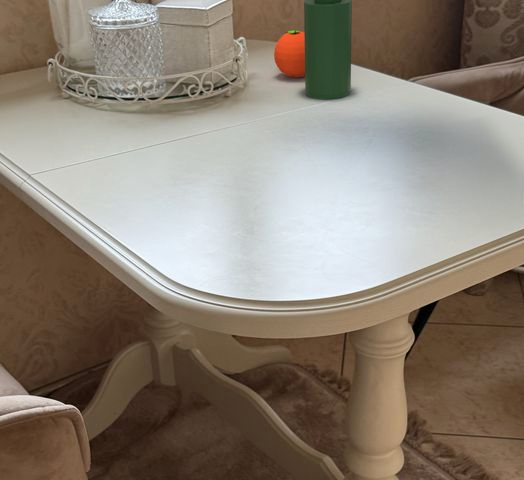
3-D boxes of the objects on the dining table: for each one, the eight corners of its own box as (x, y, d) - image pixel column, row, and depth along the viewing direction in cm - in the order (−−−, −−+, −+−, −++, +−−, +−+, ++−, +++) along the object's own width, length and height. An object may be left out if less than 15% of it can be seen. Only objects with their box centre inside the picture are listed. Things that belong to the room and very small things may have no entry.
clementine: (266, 73, 131) (264, 27, 127) (304, 67, 133) (303, 22, 129) (284, 84, 124) (283, 37, 120) (324, 78, 126) (324, 31, 122)
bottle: (349, 85, 123) (350, -36, 113) (351, 98, 117) (353, -28, 107) (305, 87, 123) (303, -34, 113) (305, 100, 117) (303, -26, 108)
